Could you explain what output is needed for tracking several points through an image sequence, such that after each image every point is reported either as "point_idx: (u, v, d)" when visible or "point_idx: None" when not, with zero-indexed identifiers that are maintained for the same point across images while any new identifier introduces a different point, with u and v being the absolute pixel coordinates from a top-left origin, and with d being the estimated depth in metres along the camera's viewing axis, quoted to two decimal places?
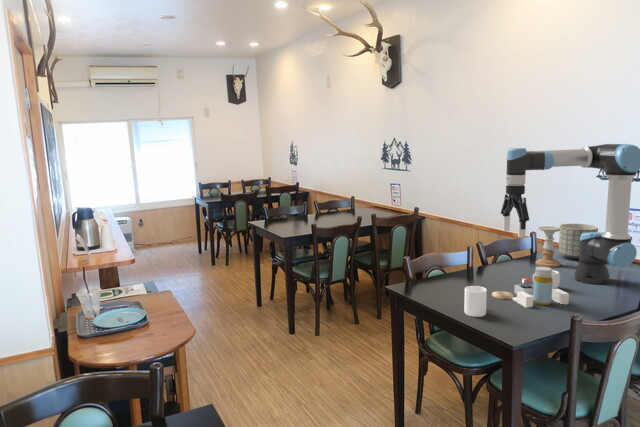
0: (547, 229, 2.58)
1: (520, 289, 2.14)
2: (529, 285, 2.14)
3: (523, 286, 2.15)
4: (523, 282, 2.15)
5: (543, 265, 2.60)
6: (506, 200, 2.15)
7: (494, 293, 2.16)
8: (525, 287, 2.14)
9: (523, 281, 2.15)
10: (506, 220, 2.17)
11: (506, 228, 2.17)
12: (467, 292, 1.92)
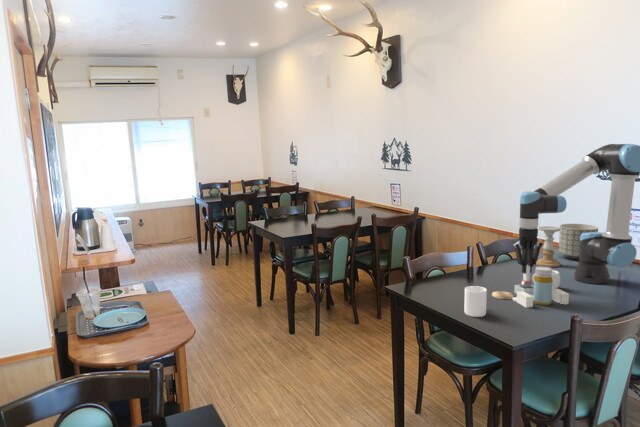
0: (547, 229, 2.58)
1: (520, 289, 2.14)
2: (529, 287, 2.14)
3: None
4: (523, 284, 2.15)
5: (543, 265, 2.60)
6: (535, 246, 2.15)
7: (494, 293, 2.16)
8: None
9: (523, 283, 2.15)
10: None
11: None
12: (467, 292, 1.92)
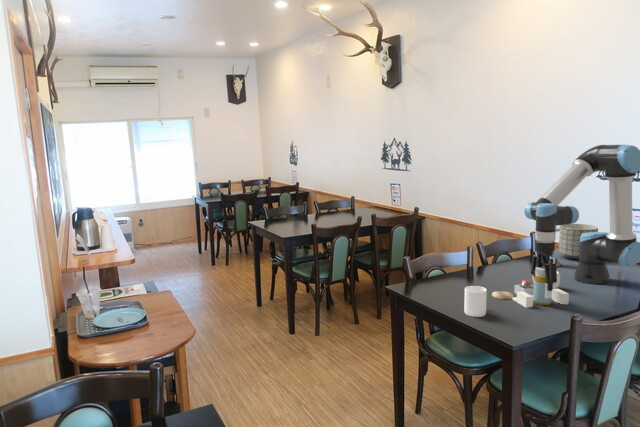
0: None
1: (520, 289, 2.14)
2: (529, 287, 2.14)
3: None
4: (523, 285, 2.15)
5: None
6: (534, 258, 2.07)
7: (494, 293, 2.16)
8: None
9: (523, 283, 2.15)
10: None
11: None
12: (467, 292, 1.92)
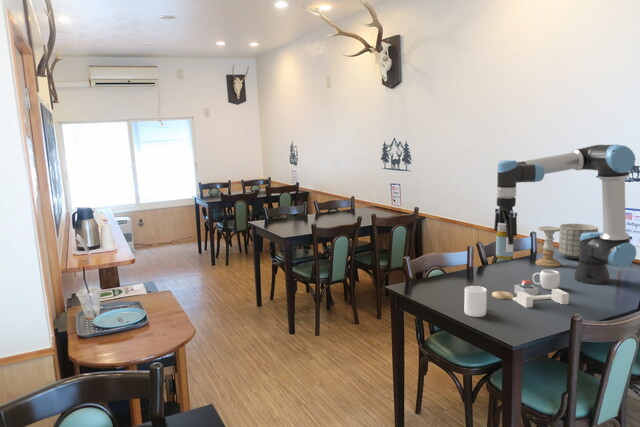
0: (547, 229, 2.58)
1: (520, 289, 2.14)
2: (529, 287, 2.14)
3: None
4: (523, 285, 2.15)
5: (543, 265, 2.60)
6: (497, 214, 2.14)
7: (494, 293, 2.16)
8: None
9: (523, 283, 2.15)
10: None
11: None
12: (467, 292, 1.92)
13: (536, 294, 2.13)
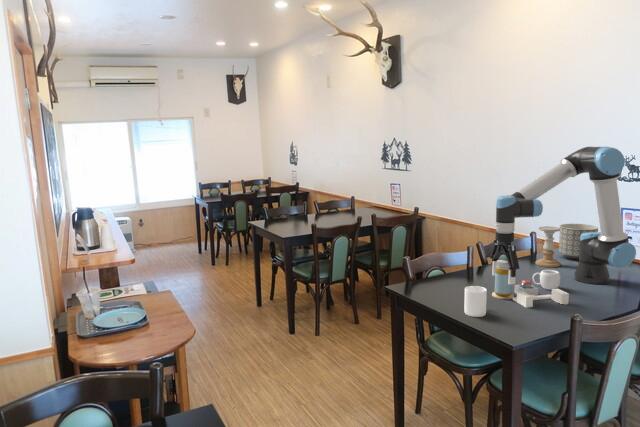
0: (547, 229, 2.58)
1: (520, 289, 2.14)
2: (529, 287, 2.14)
3: None
4: (523, 285, 2.15)
5: (543, 265, 2.60)
6: (495, 245, 2.17)
7: (494, 293, 2.16)
8: None
9: (523, 283, 2.15)
10: (495, 265, 2.19)
11: None
12: (467, 292, 1.92)
13: (536, 294, 2.13)
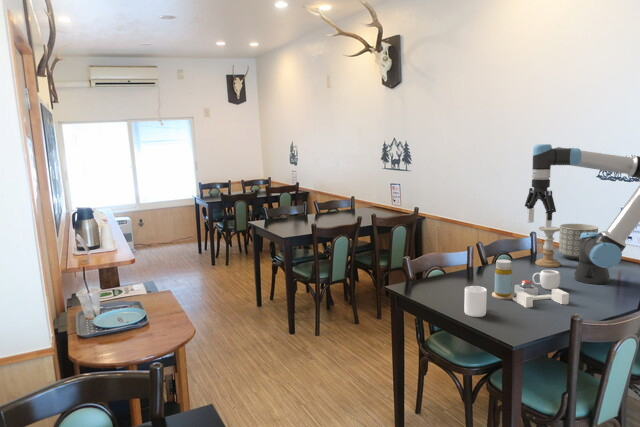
0: (547, 229, 2.58)
1: (520, 289, 2.14)
2: (529, 287, 2.14)
3: None
4: (523, 285, 2.15)
5: (543, 265, 2.60)
6: (531, 193, 2.28)
7: (494, 293, 2.16)
8: None
9: (523, 283, 2.15)
10: (530, 212, 2.30)
11: (530, 219, 2.31)
12: (467, 292, 1.92)
13: (536, 294, 2.13)
